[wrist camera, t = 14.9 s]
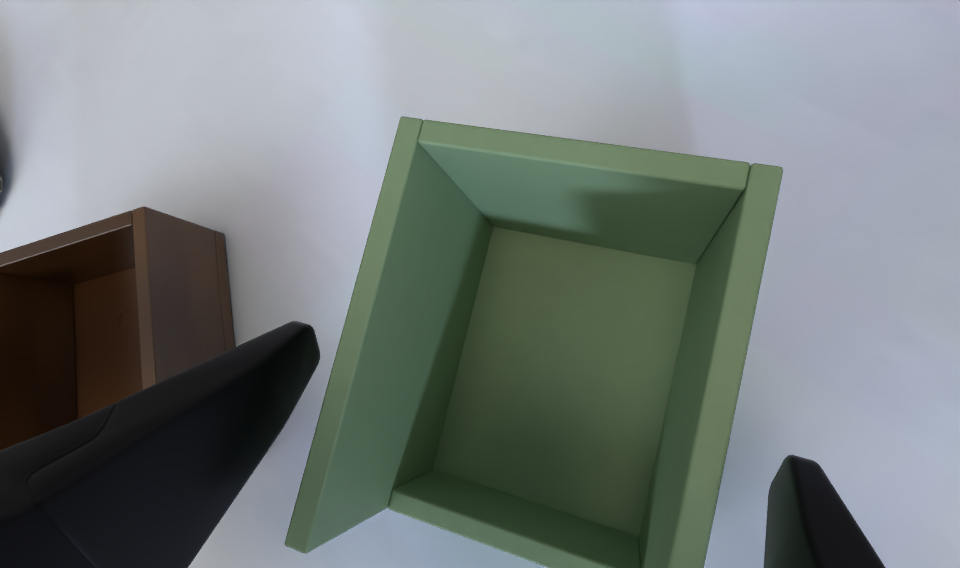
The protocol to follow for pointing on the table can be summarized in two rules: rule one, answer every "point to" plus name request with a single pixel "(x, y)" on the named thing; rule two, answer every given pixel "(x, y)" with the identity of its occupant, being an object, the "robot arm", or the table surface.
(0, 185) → the brown and grey figure
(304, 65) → the table surface
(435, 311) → the box
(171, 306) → the box
